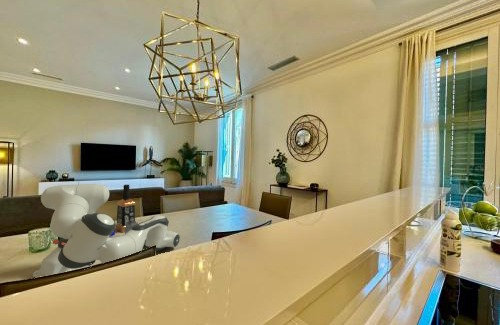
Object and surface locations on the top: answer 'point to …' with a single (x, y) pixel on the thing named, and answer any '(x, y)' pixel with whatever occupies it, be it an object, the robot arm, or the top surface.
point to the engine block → (129, 225)
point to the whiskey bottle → (125, 210)
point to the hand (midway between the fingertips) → (139, 232)
